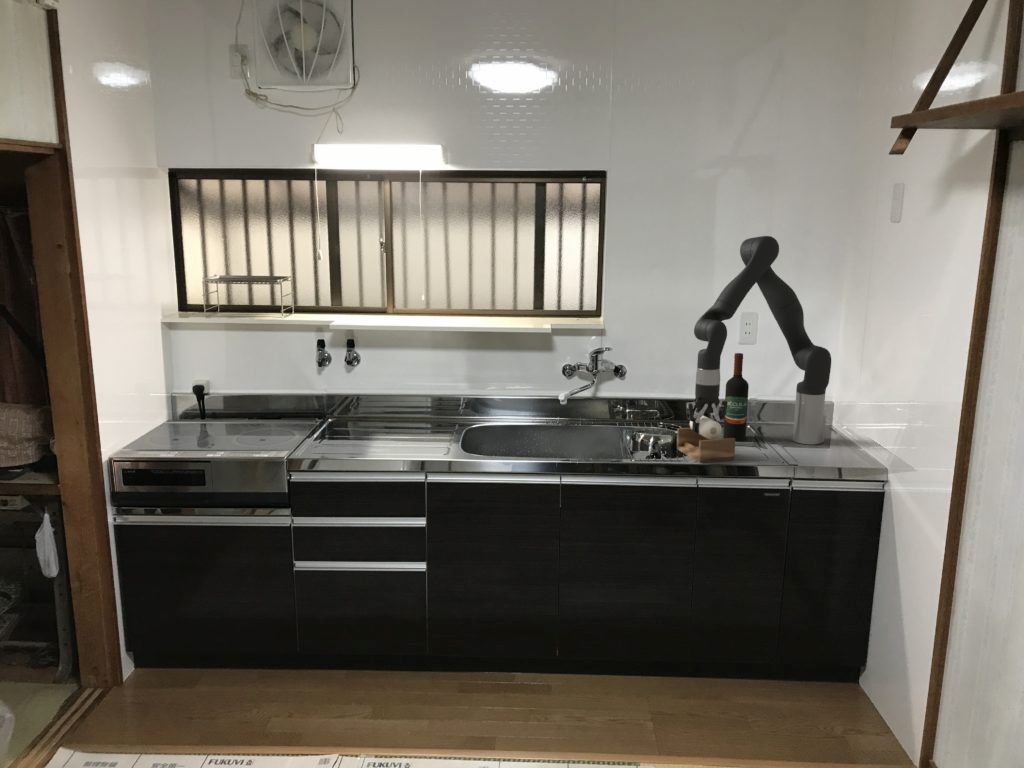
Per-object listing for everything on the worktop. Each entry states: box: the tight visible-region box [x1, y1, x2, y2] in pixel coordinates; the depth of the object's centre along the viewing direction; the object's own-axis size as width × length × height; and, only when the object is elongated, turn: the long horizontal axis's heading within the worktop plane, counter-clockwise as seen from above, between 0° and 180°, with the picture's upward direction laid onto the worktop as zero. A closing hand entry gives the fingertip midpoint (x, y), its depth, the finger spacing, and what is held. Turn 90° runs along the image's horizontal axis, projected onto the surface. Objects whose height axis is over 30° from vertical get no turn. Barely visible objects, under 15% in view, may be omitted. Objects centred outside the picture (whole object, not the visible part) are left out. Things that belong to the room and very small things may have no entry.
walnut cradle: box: [676, 427, 736, 463], centre depth 245 cm, size 16×12×7 cm
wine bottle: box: [722, 352, 750, 442], centre depth 260 cm, size 8×8×30 cm
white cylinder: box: [689, 415, 723, 440], centre depth 244 cm, size 10×6×6 cm
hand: (705, 432), depth 244 cm, fingers closed on white cylinder, 6 cm apart
